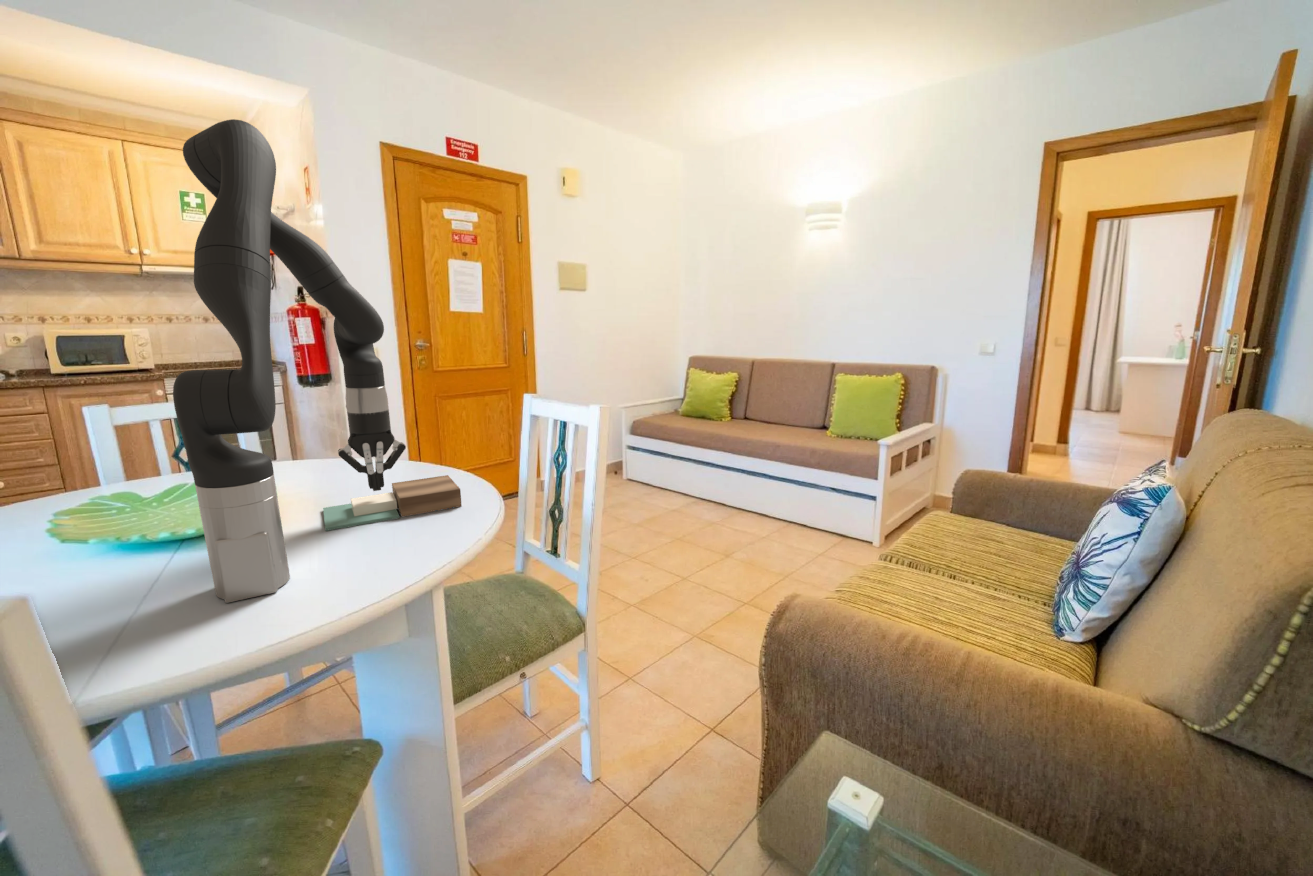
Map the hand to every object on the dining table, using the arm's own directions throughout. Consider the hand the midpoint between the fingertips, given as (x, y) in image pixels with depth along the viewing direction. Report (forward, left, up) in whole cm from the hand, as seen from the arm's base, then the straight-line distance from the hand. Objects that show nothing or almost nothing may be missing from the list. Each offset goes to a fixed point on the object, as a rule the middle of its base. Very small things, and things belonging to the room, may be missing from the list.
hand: (377, 489), depth 112 cm
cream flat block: (+1, +1, -4) cm, 4 cm away
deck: (0, -10, -5) cm, 11 cm away
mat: (0, +3, -5) cm, 6 cm away
